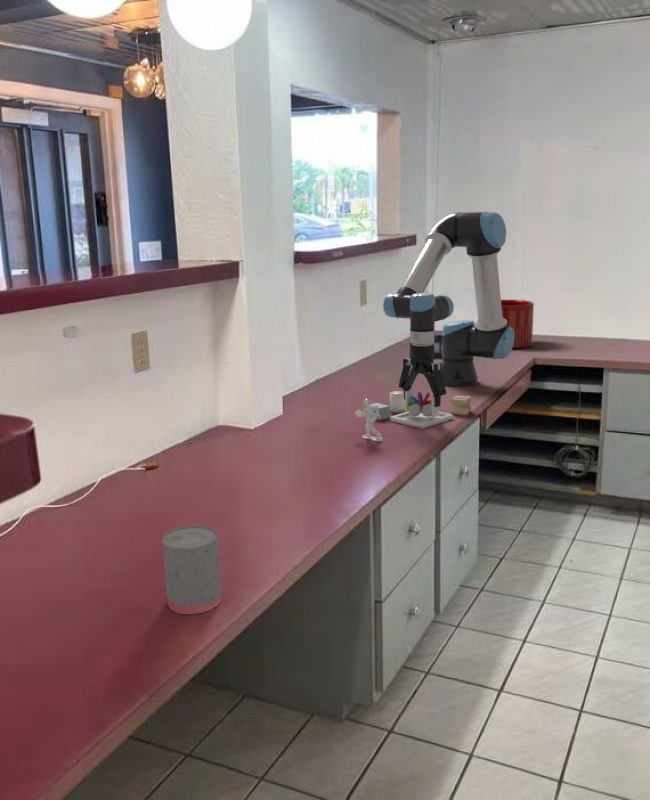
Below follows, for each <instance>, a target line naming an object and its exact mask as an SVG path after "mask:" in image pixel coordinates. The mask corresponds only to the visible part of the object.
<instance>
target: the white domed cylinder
mask: <svg viewBox="0 0 650 800" xmlns="http://www.w3.org/2000/svg"><path fill="white" fill-rule="evenodd" d="M389 406H390V412H391V413H398V414H399V413H405V412H406V411H405V400H404V391H399V390H396V391H395V390H394V391H390V392H389Z"/></svg>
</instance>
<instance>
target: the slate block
mask: <svg viewBox="0 0 650 800" xmlns="http://www.w3.org/2000/svg"><path fill="white" fill-rule="evenodd" d="M369 406H378V409H379V415H381V418H379V417H376V418H377V420H378V421H382V420H386V419H389V418H390V417H391V416H390V415H391V413H390V412H391V411H390V405H387V404H383V403H379V402H374V403H369ZM373 413H375V414H376V410H375V409H374V410H373Z"/></svg>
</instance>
